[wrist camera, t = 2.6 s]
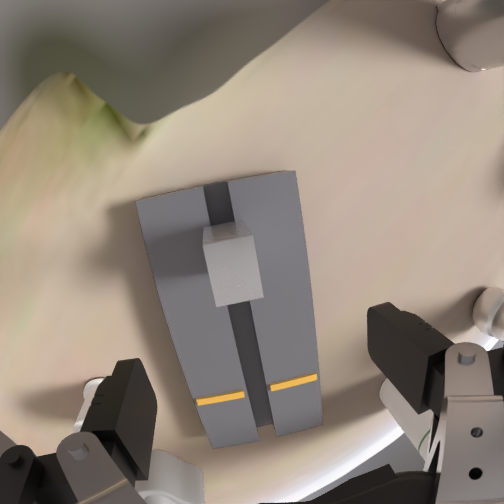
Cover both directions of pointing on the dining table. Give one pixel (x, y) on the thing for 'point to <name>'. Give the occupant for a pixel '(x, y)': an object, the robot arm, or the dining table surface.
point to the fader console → (239, 307)
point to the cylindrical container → (407, 417)
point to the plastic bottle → (490, 312)
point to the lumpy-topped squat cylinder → (171, 481)
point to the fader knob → (232, 263)
